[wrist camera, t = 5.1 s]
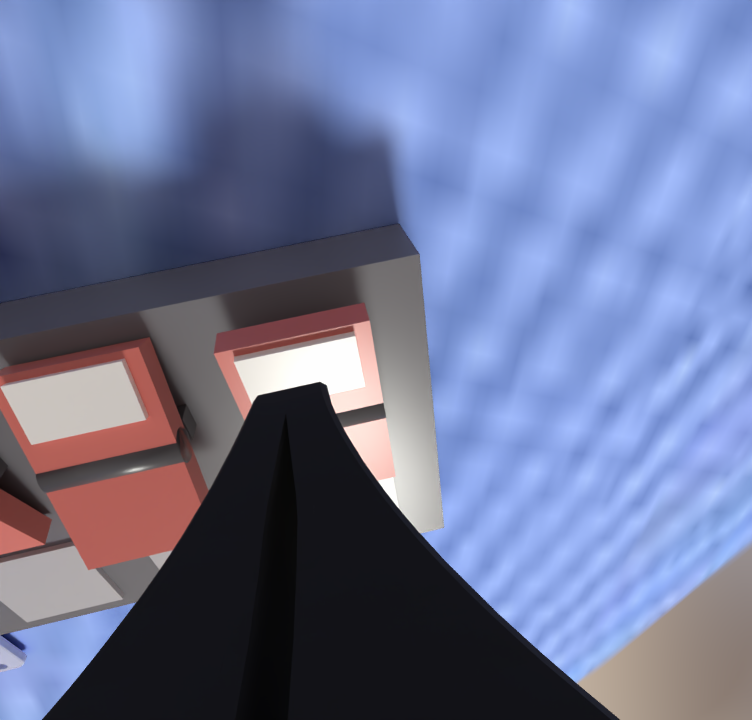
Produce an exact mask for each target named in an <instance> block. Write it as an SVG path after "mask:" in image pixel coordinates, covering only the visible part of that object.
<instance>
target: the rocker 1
mask: <svg viewBox="0 0 752 720" xmlns="http://www.w3.org/2000/svg"><path fill="white" fill-rule="evenodd" d="M51 521H52V519H50V518H49V517H47V516H45V515H44V514H42V513H40V512H39V511H37V510H35V509H34V508H32V507H30V506H29V505H27V504H25V503H23V502H22V501H20V500H18V499H17V498H15V497H13V496H12V495H10V494H8V493H7V492H5V491H3V490H2V489H0V555H2V554H6V553H10V552H15V551H19V550H23V549H28V548H32V547H36V546H41V545H45V543H46V539H47V536H48V532H49V528H50V525H51Z"/></svg>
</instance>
